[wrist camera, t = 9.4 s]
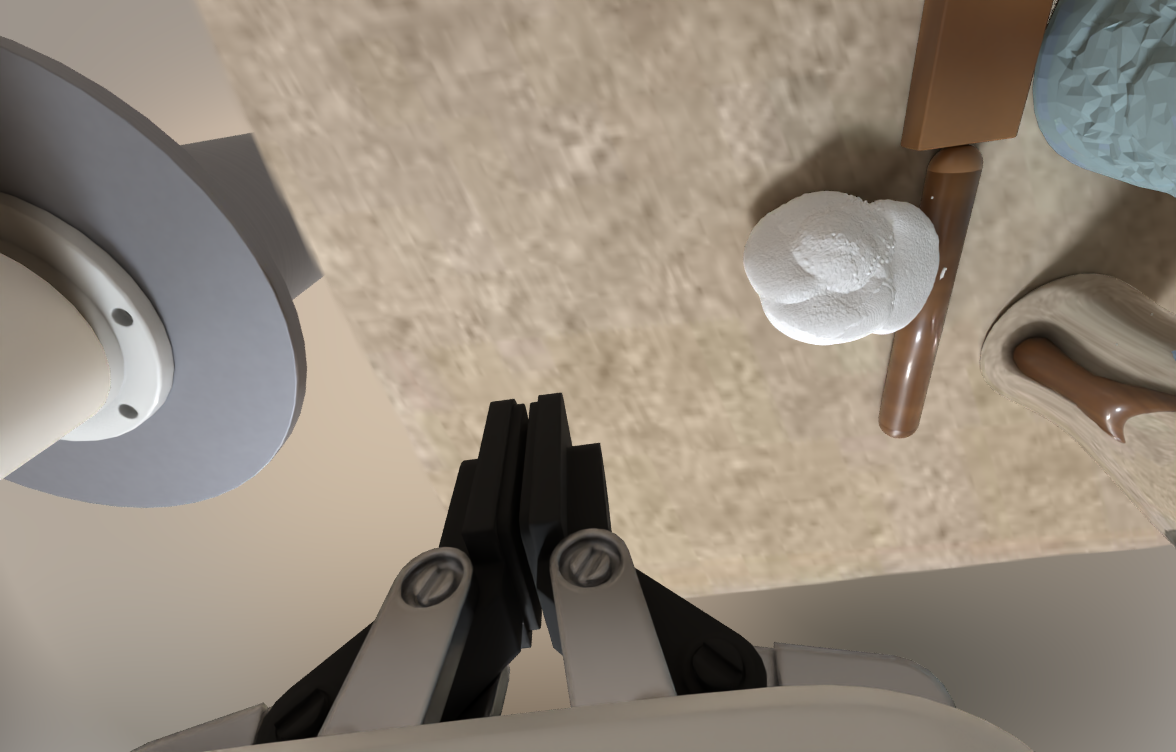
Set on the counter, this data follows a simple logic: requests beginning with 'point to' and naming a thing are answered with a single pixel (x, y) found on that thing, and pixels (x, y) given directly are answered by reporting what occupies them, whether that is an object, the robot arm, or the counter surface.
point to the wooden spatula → (956, 155)
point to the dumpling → (842, 266)
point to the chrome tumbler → (1097, 380)
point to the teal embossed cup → (1111, 88)
